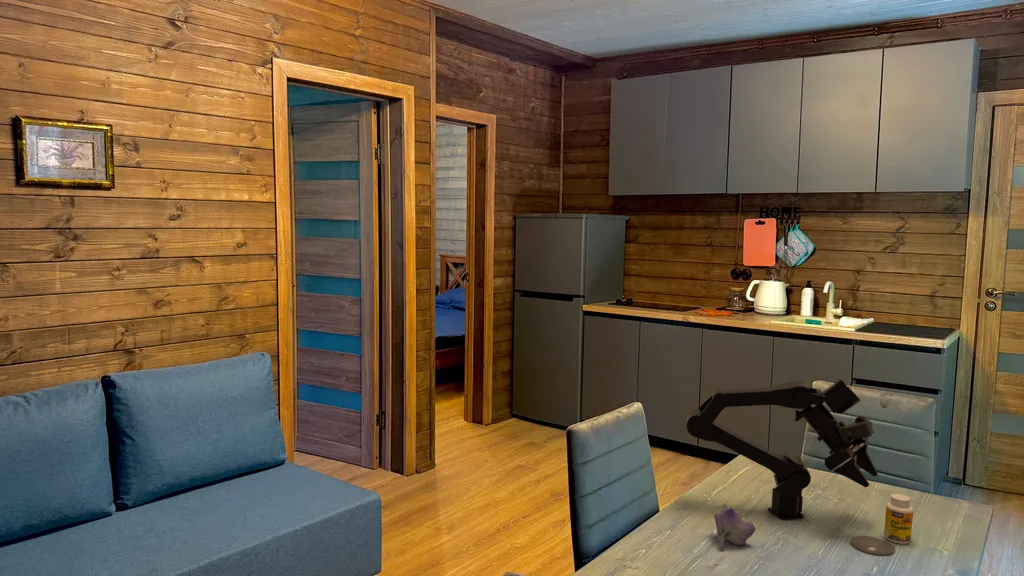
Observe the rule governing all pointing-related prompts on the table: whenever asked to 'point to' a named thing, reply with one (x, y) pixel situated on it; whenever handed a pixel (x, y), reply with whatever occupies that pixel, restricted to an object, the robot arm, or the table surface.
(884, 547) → the slate coaster
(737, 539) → the flower
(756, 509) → the table surface
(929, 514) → the table surface
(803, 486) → the robot arm
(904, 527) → the supplement bottle
